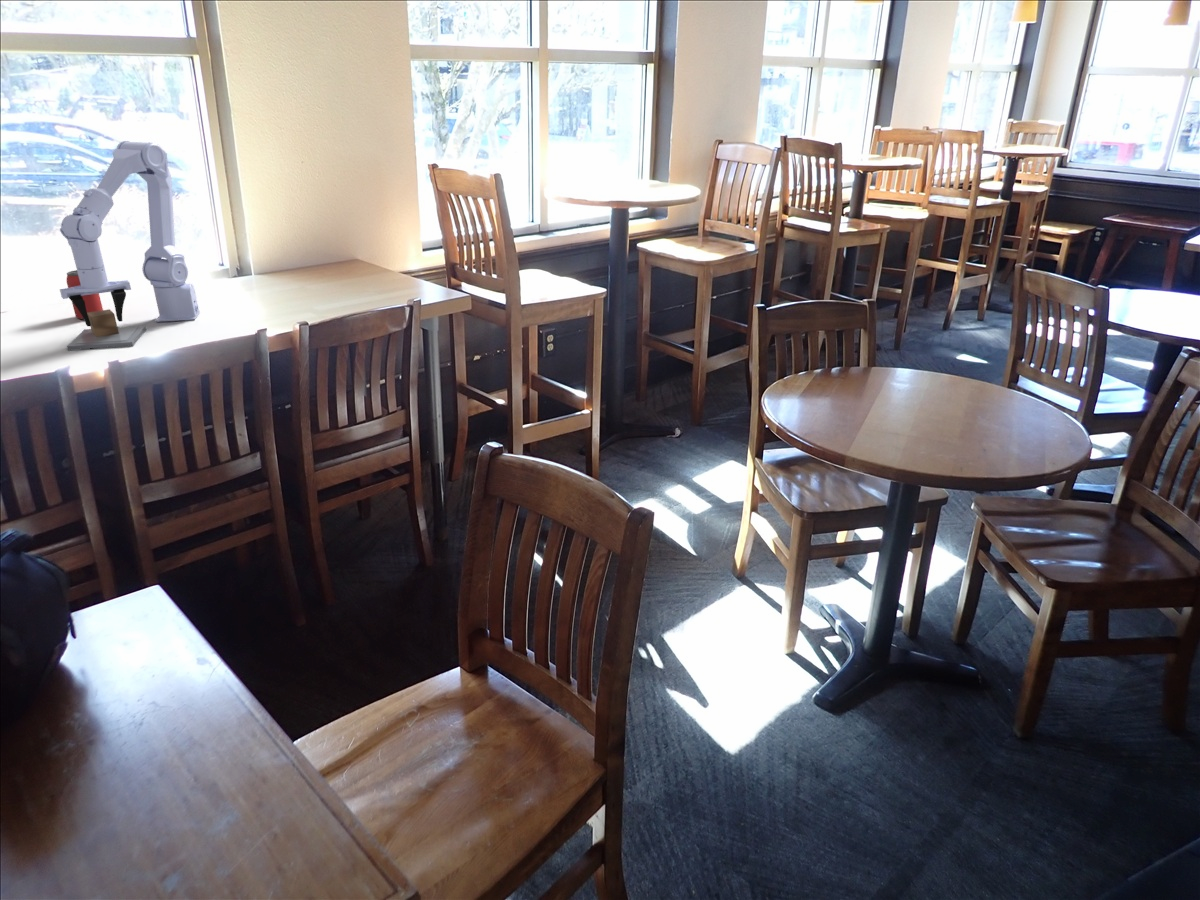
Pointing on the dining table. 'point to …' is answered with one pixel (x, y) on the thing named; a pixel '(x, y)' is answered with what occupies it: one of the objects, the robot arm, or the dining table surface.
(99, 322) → the walnut block
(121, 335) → the coaster
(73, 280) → the beer can
